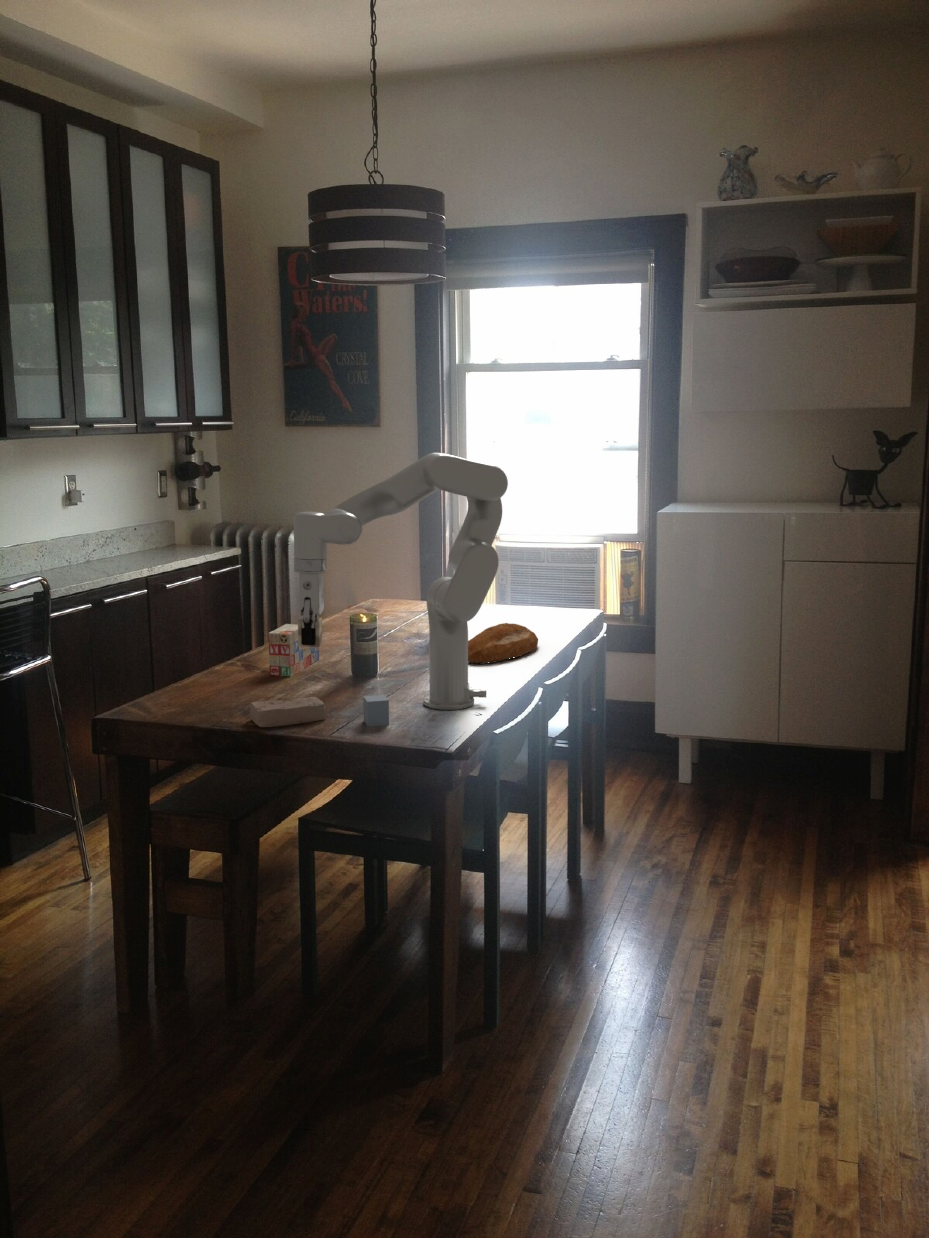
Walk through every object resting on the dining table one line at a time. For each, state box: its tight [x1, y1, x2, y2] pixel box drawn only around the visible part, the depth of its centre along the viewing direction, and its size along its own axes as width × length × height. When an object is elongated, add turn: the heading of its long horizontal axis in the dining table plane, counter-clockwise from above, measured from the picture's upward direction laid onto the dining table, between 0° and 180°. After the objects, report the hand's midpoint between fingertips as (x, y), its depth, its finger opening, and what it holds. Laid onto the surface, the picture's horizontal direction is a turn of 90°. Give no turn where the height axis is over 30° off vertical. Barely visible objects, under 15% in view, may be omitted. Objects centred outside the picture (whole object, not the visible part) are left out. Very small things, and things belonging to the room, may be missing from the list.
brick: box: [249, 696, 327, 728], centre depth 259 cm, size 17×8×5 cm, turn 116°
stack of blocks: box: [268, 623, 320, 678], centre depth 309 cm, size 21×6×12 cm, turn 166°
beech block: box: [297, 616, 323, 648], centre depth 258 cm, size 5×5×6 cm
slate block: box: [362, 694, 390, 728], centre depth 256 cm, size 5×5×6 cm
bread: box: [468, 622, 539, 664], centre depth 327 cm, size 18×35×9 cm, turn 146°
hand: (309, 641), depth 258 cm, fingers closed on beech block, 5 cm apart
